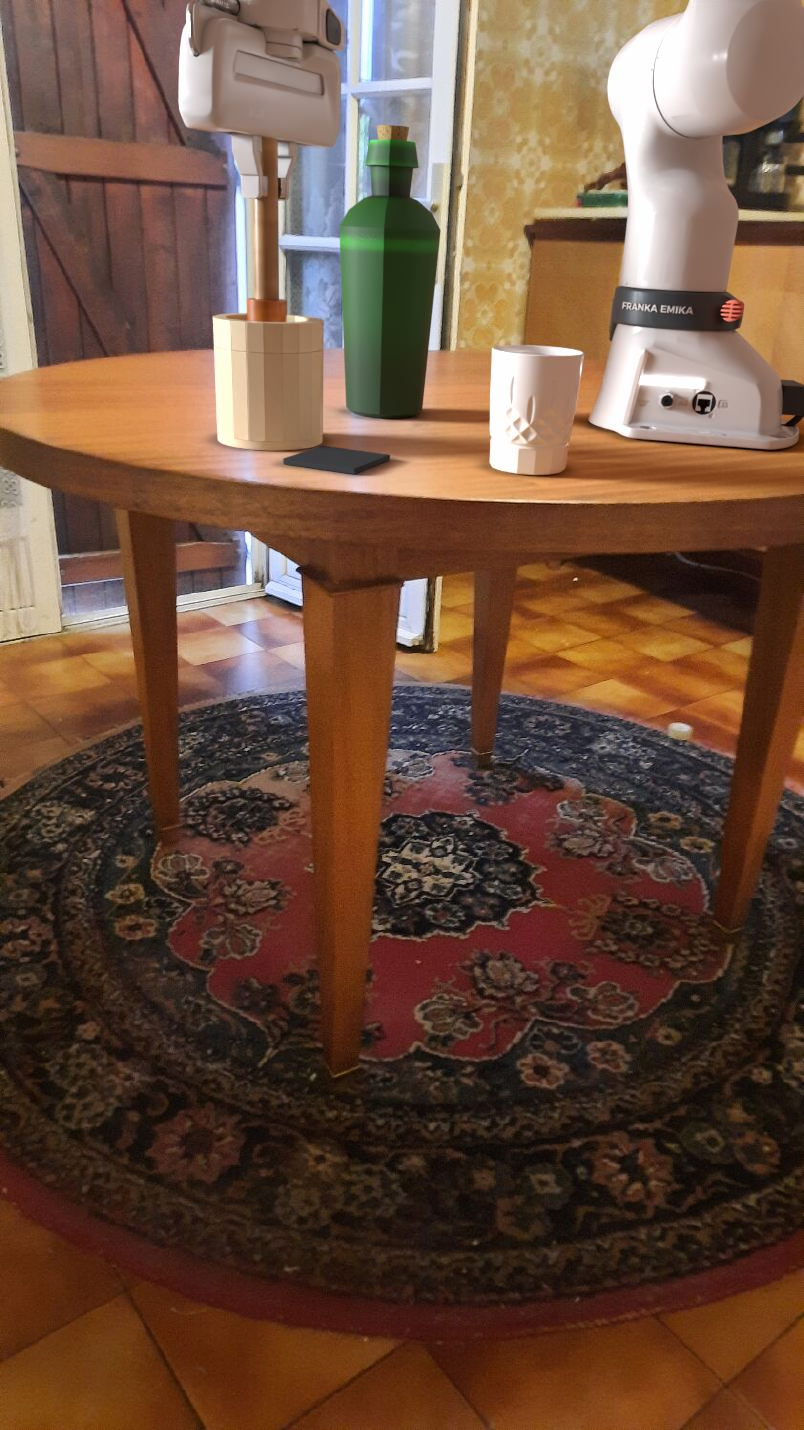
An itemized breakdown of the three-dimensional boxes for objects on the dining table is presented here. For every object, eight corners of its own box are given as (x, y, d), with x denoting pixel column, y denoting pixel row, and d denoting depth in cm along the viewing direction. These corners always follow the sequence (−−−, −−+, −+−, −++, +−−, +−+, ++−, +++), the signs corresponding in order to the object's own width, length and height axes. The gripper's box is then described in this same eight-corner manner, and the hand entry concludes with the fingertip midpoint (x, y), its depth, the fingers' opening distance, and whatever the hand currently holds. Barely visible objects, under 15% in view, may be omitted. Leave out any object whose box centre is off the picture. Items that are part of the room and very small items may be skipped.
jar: (340, 438, 100) (342, 319, 96) (288, 455, 92) (287, 325, 87) (254, 426, 104) (251, 311, 99) (196, 442, 96) (190, 317, 91)
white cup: (502, 478, 87) (512, 355, 83) (470, 459, 94) (478, 344, 89) (586, 476, 89) (600, 356, 85) (549, 457, 96) (560, 345, 92)
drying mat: (390, 460, 92) (390, 454, 92) (354, 474, 86) (354, 468, 86) (321, 451, 94) (322, 445, 94) (283, 464, 89) (282, 458, 88)
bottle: (434, 408, 119) (448, 133, 107) (427, 423, 109) (442, 124, 97) (343, 402, 120) (348, 129, 108) (329, 418, 110) (332, 119, 98)
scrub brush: (294, 346, 95) (293, 137, 88) (274, 349, 92) (271, 133, 85) (261, 342, 96) (258, 137, 89) (240, 345, 93) (235, 133, 86)
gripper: (224, -20, 73) (230, 195, 79) (354, 31, 90) (351, 205, 96) (152, -16, 76) (163, 193, 82) (292, 33, 92) (293, 203, 98)
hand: (266, 200), depth 89 cm, fingers closed on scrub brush, 2 cm apart
